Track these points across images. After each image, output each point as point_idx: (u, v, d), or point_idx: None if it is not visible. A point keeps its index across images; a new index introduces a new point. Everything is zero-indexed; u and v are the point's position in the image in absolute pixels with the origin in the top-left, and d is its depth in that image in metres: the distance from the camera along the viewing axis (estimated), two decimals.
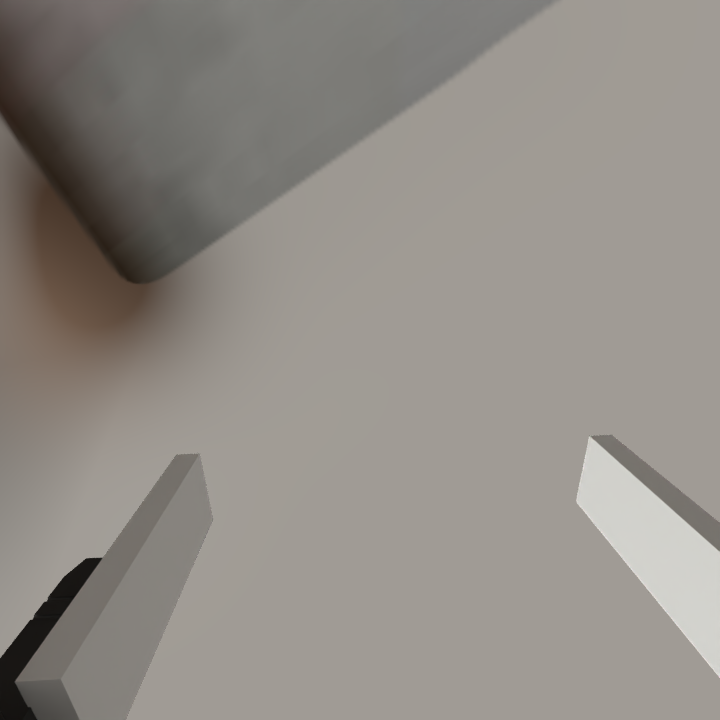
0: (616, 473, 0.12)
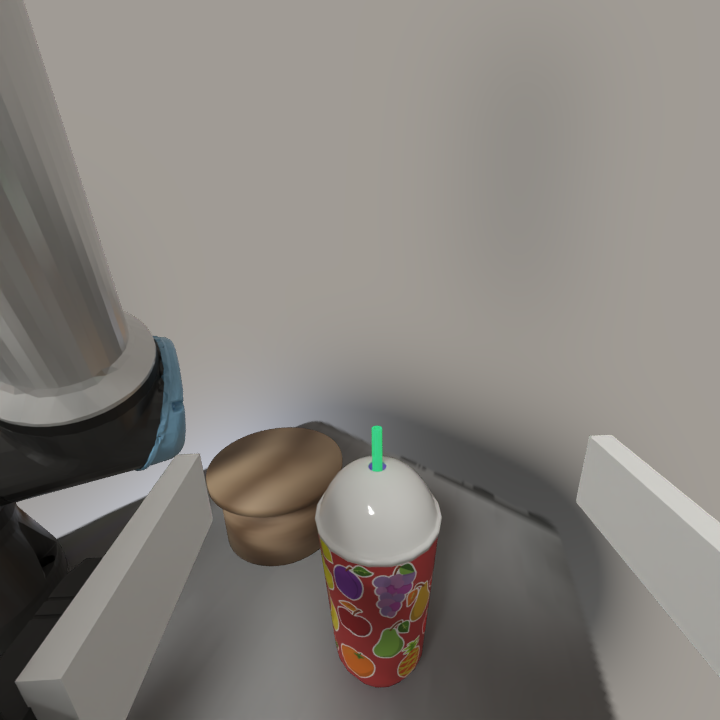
0: (617, 473, 0.12)
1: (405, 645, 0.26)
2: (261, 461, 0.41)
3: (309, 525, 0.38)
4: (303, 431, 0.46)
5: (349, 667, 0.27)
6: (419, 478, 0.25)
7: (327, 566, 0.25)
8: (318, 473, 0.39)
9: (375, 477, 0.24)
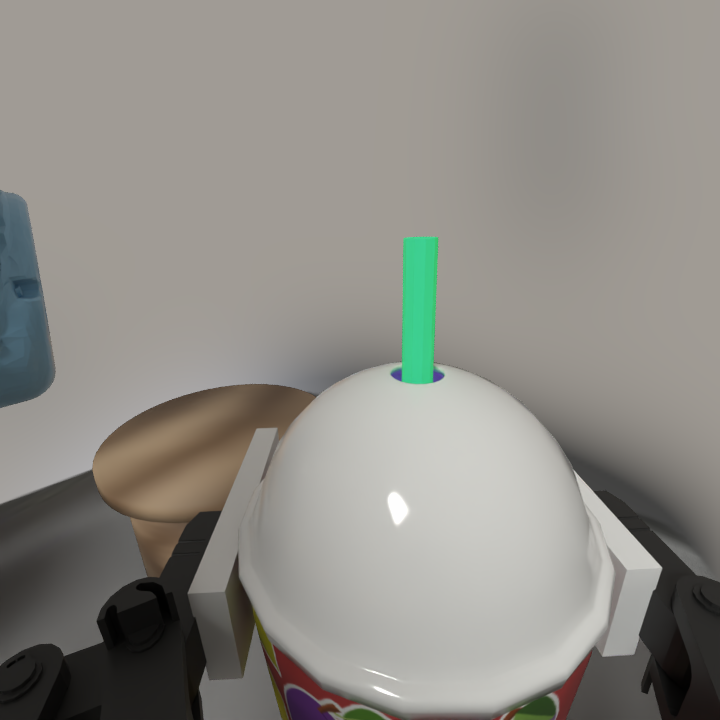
0: None
1: None
2: (198, 428, 0.25)
3: None
4: (274, 388, 0.30)
5: None
6: (534, 415, 0.09)
7: (271, 670, 0.08)
8: None
9: (416, 398, 0.07)
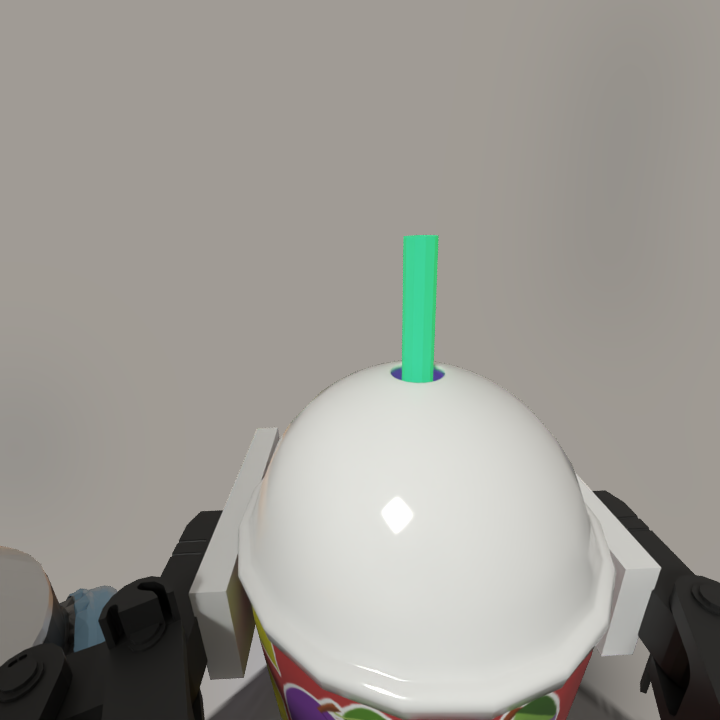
0: None
1: None
2: None
3: None
4: None
5: None
6: (534, 414, 0.09)
7: (270, 670, 0.08)
8: None
9: (416, 396, 0.07)
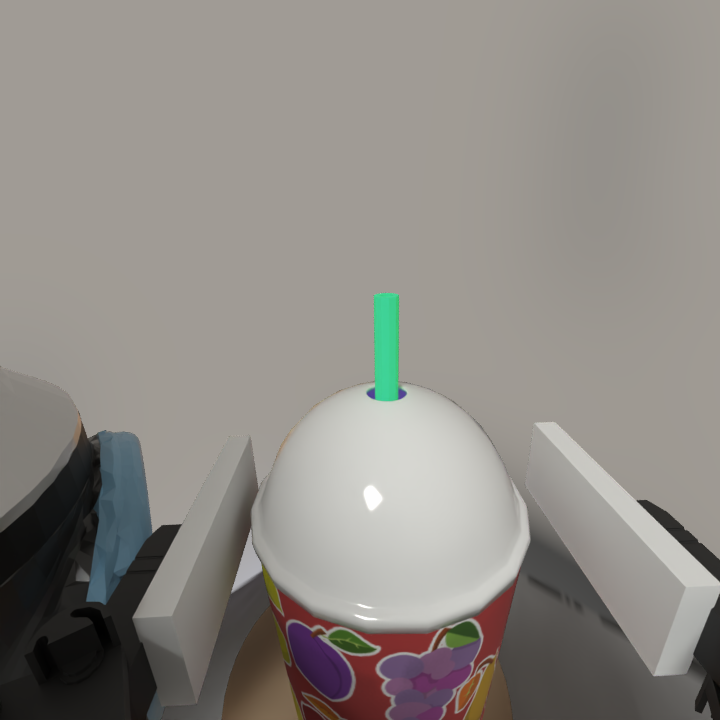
0: (553, 455, 0.12)
1: None
2: None
3: None
4: None
5: None
6: (477, 423, 0.12)
7: (275, 617, 0.11)
8: None
9: (383, 412, 0.10)
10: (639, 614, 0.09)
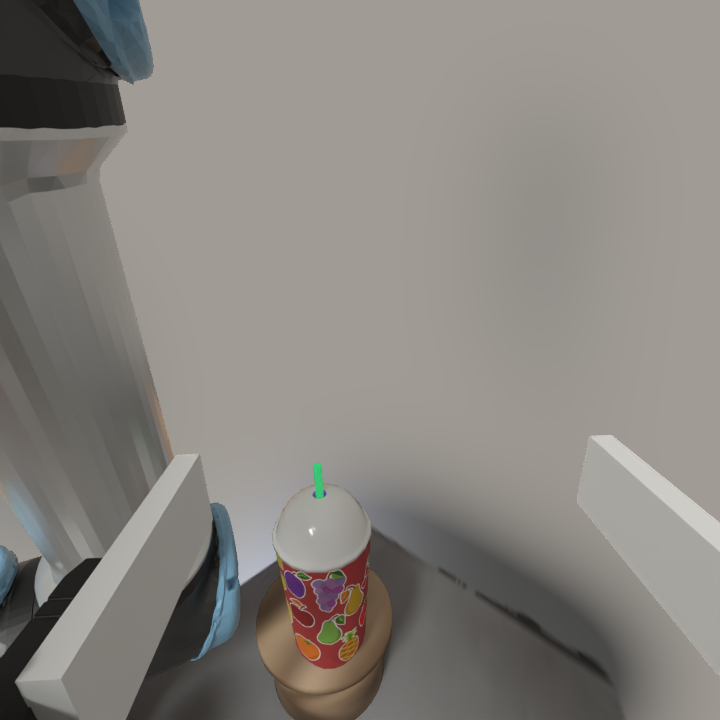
0: (616, 473, 0.12)
1: (343, 634, 0.33)
2: None
3: (363, 688, 0.37)
4: None
5: (302, 652, 0.34)
6: (353, 503, 0.32)
7: (280, 571, 0.32)
8: (370, 631, 0.38)
9: (316, 503, 0.31)
10: None
